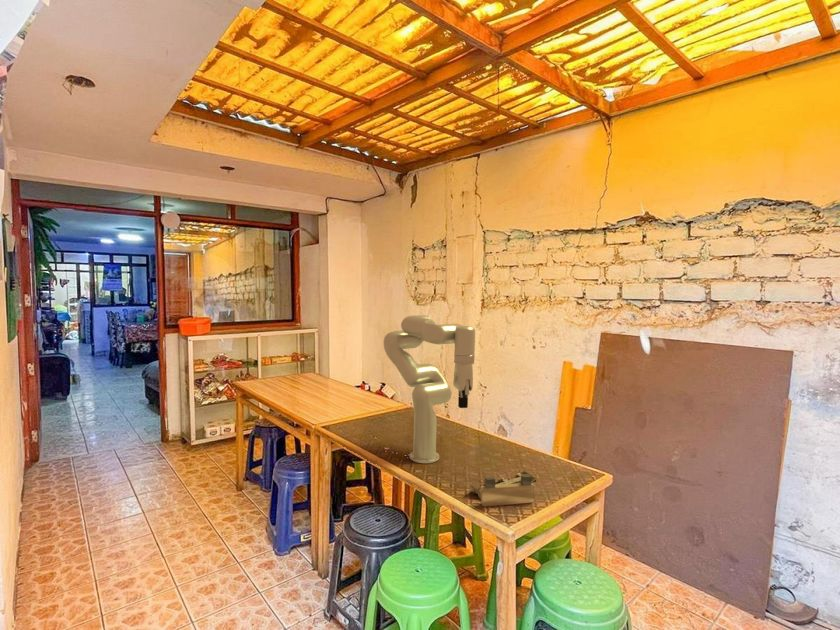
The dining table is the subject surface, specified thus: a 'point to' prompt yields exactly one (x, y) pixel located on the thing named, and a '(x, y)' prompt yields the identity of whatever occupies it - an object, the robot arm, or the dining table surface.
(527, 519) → the dining table surface
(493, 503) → the notched board
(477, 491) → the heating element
